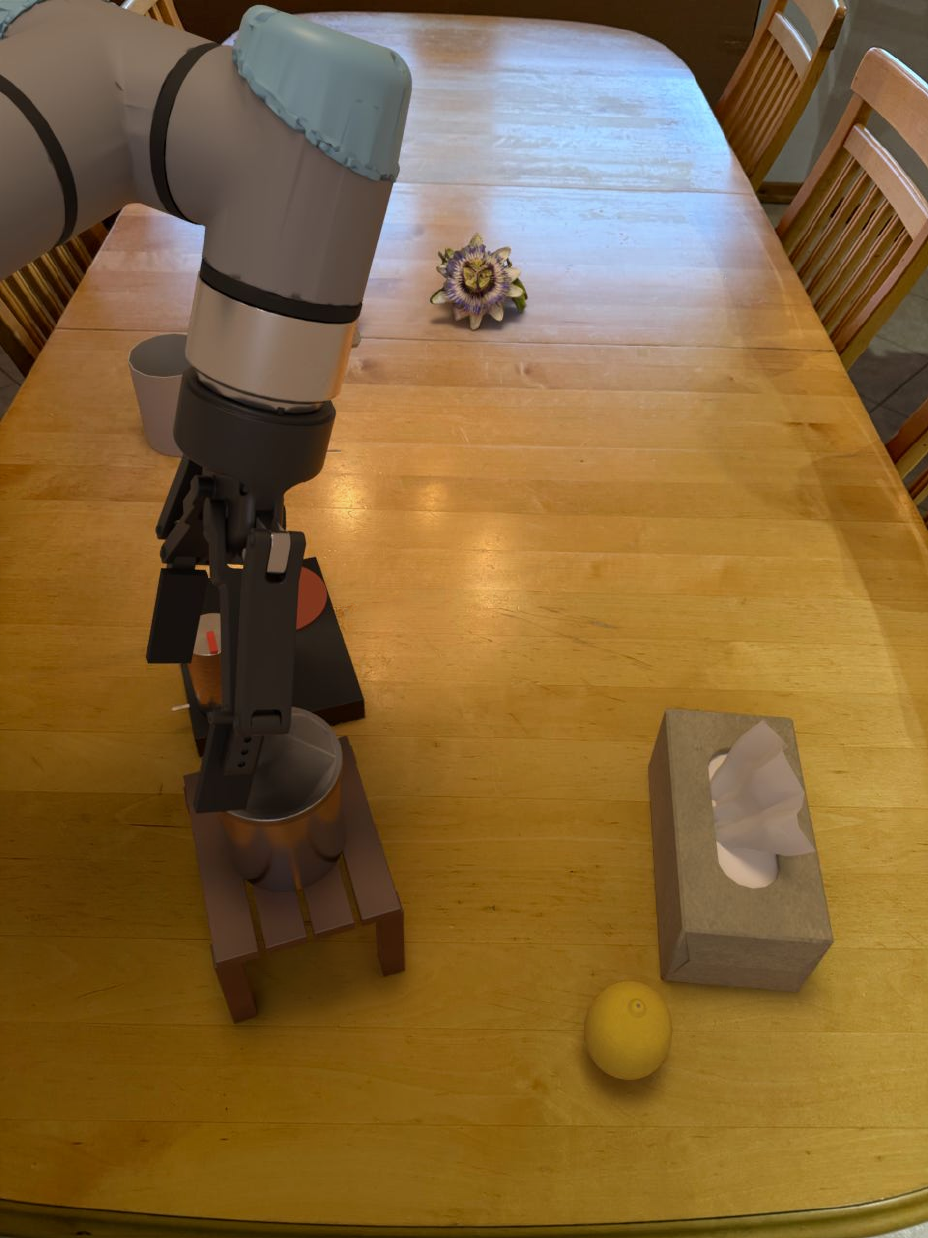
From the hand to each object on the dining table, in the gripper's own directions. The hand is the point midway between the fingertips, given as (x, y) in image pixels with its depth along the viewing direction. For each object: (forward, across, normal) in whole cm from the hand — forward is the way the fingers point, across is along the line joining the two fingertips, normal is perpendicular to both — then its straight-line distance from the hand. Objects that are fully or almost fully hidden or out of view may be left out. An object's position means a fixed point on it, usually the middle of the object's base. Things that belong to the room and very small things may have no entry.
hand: (191, 727), depth 58 cm
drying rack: (+18, +1, -11) cm, 21 cm away
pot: (+9, -1, -8) cm, 12 cm away
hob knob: (+12, +19, -9) cm, 25 cm away
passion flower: (-11, +70, -51) cm, 88 cm away
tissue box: (+9, -9, -40) cm, 42 cm away
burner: (+8, +28, -15) cm, 33 cm away
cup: (+6, +59, -13) cm, 61 cm away
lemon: (+15, -17, -27) cm, 36 cm away
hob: (+12, +25, -14) cm, 31 cm away
